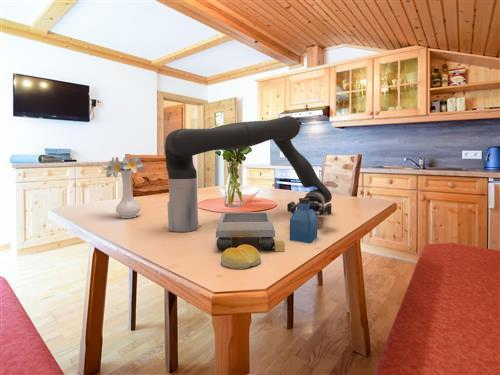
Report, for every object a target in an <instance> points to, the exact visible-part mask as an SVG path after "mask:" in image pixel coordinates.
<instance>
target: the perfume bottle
mask: <svg viewBox="0 0 500 375" xmlns="http://www.w3.org/2000/svg"><path fill="white" fill-rule="evenodd" d="M309 200H310V199H309V198H304V197H299V198H298V202H297V203H298V206H299V209H297V208H296V210H295V211H294V213H293V214H291V216H290V218H289V241H294V242H300V243H305V244H311V243H313V242H314V241H315V240H317V239H318V223H319V222H318V221H319V220H318V216H317V215H316V214H315V212H314V211H313V210H312V209H309V207H310V203H309ZM316 238H317V239H316ZM313 240H314V241H313Z"/></svg>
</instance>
